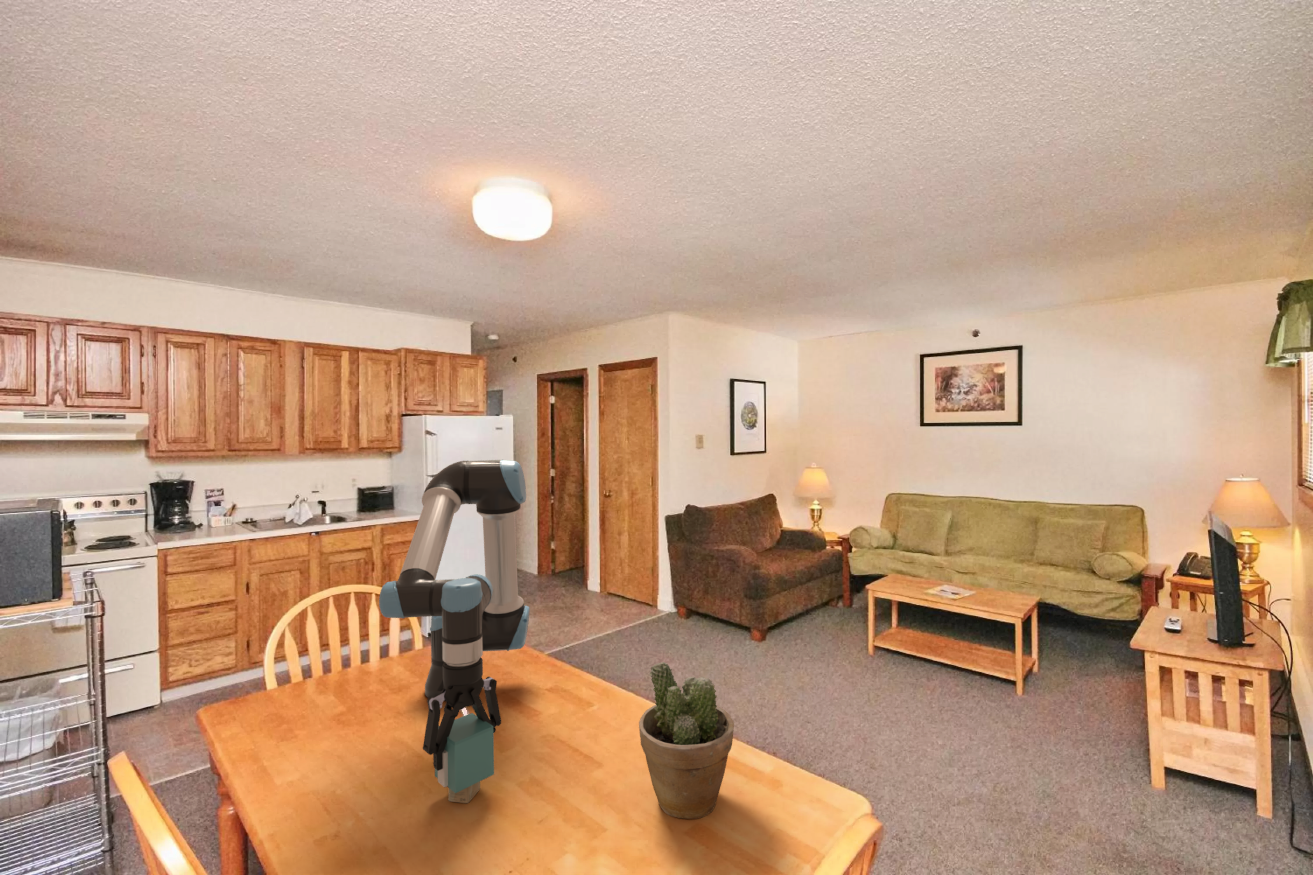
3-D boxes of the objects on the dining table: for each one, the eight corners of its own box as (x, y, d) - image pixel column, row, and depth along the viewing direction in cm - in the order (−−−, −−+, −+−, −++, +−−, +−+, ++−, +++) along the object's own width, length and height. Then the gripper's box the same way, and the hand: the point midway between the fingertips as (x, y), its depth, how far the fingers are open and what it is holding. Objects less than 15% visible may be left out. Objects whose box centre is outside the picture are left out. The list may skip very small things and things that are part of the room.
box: (467, 804, 112) (467, 747, 112) (447, 801, 113) (446, 745, 113) (481, 787, 118) (480, 733, 117) (461, 785, 118) (461, 731, 118)
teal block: (472, 758, 121) (472, 712, 121) (494, 774, 115) (493, 725, 115) (434, 775, 115) (434, 727, 115) (455, 793, 109) (454, 742, 109)
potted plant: (743, 782, 118) (742, 660, 118) (723, 843, 101) (721, 700, 101) (657, 766, 124) (656, 650, 124) (625, 821, 107) (623, 686, 107)
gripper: (499, 640, 125) (500, 745, 126) (401, 670, 110) (403, 789, 110) (519, 649, 120) (520, 758, 120) (419, 681, 105) (421, 807, 105)
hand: (464, 773), depth 115 cm, fingers closed on teal block, 8 cm apart
